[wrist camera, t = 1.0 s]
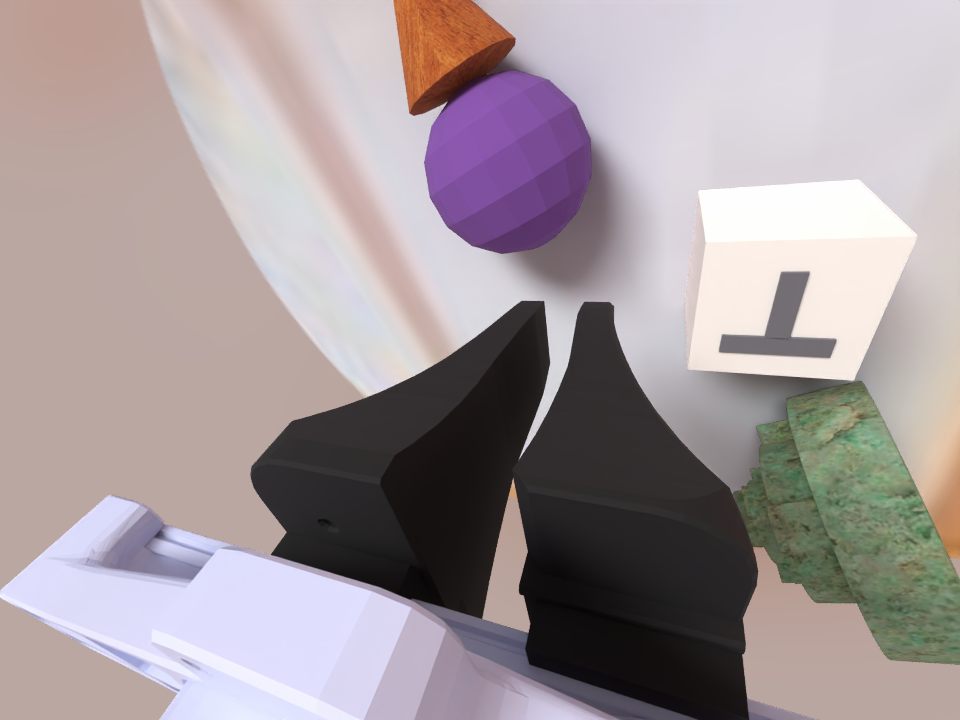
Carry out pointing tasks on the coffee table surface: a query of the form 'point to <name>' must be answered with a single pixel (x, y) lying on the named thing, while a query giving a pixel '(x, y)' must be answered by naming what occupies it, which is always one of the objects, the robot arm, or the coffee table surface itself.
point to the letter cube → (790, 278)
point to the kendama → (490, 130)
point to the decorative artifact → (853, 523)
